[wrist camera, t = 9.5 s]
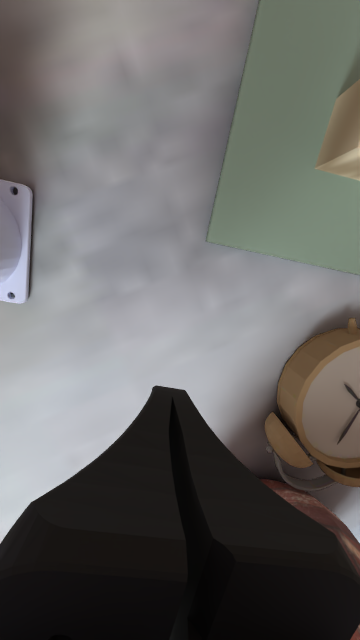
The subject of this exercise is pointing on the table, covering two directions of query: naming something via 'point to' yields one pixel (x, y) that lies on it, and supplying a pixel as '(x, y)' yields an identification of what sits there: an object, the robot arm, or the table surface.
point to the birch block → (343, 137)
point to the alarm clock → (320, 410)
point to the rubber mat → (291, 139)
